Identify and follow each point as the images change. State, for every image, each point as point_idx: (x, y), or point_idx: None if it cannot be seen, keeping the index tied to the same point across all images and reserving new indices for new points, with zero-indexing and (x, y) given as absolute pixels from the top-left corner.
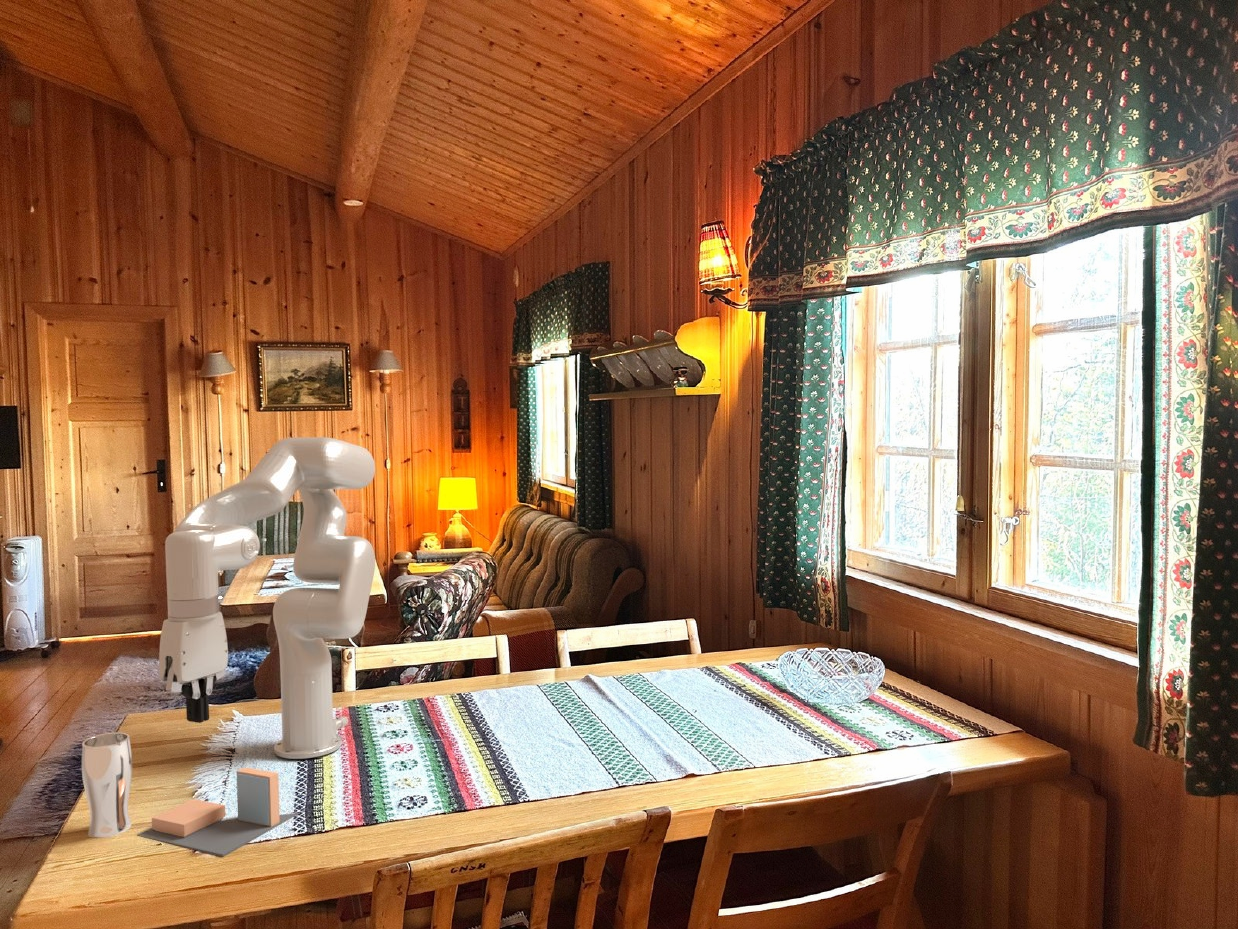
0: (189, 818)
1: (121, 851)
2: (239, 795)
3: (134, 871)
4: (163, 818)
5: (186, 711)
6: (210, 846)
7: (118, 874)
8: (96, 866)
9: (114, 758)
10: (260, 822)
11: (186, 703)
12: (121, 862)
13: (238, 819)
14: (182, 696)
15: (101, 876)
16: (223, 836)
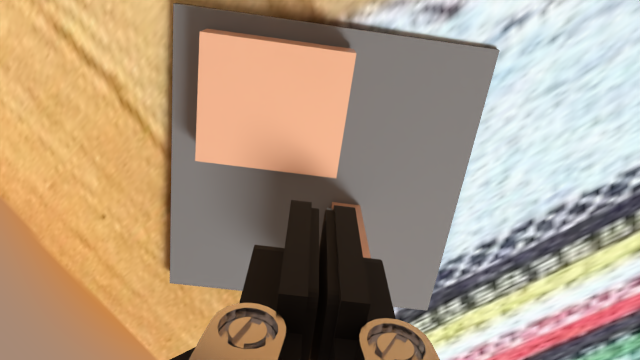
0: (233, 145)
1: (110, 16)
2: None
3: (57, 130)
4: (207, 72)
5: (251, 258)
6: (189, 235)
7: (30, 104)
8: (26, 16)
9: None
10: None
11: (241, 299)
12: (71, 65)
13: (332, 204)
14: (221, 311)
15: (3, 72)
16: (243, 228)
